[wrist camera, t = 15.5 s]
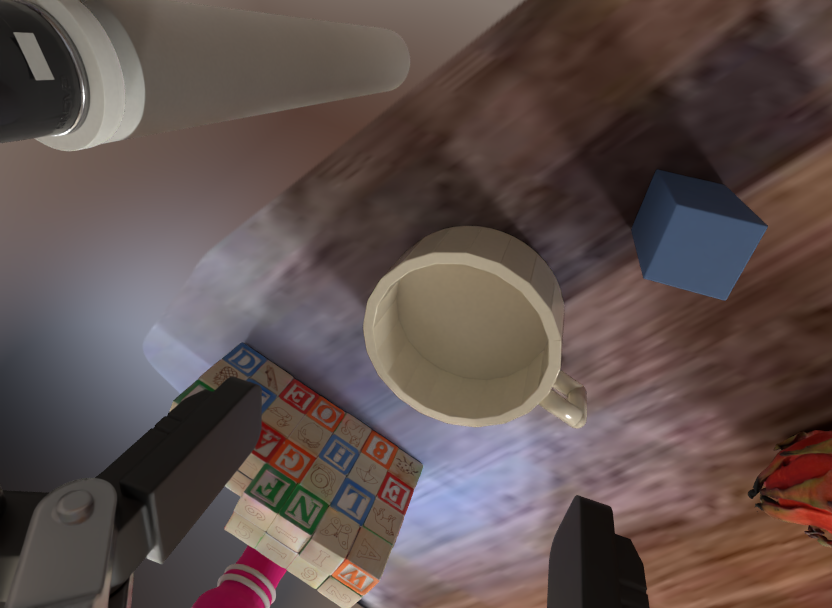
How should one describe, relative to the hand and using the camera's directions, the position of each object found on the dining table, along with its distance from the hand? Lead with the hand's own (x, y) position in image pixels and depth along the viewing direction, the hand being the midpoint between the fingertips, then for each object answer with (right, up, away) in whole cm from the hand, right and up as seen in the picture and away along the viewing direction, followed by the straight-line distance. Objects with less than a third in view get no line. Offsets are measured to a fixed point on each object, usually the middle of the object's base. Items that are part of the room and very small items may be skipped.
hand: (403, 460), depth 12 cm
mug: (+6, +2, +25) cm, 26 cm away
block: (+16, +10, +18) cm, 26 cm away
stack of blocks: (-9, -8, +36) cm, 38 cm away
